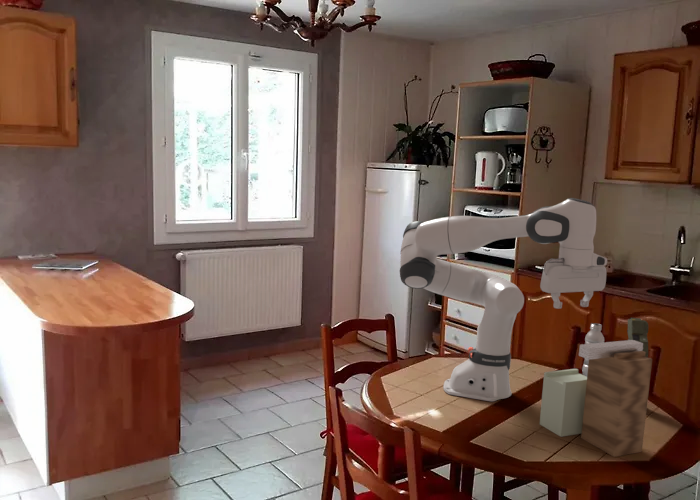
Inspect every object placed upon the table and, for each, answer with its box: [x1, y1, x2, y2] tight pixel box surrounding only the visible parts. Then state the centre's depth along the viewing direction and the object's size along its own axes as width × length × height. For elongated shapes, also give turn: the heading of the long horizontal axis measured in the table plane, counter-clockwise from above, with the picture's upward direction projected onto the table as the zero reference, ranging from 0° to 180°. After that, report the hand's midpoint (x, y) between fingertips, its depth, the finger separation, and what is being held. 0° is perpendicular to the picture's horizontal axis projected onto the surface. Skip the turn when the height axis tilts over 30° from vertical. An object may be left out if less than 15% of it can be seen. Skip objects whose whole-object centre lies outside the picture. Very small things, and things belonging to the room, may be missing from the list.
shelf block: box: [539, 368, 587, 437], centre depth 183 cm, size 12×9×16 cm
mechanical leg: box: [626, 317, 649, 358], centre depth 202 cm, size 14×7×30 cm, turn 169°
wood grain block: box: [580, 351, 653, 458], centre depth 172 cm, size 10×12×27 cm
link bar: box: [578, 339, 643, 360], centre depth 168 cm, size 19×4×3 cm, turn 113°
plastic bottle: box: [581, 322, 605, 377], centre depth 230 cm, size 6×7×20 cm
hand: (570, 307), depth 174 cm, fingers open, 8 cm apart
